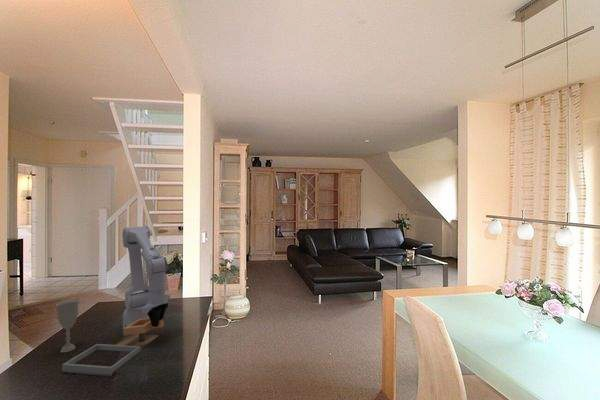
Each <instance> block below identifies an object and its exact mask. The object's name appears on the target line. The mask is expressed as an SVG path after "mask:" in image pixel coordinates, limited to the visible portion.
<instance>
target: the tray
mask: <svg viewBox="0 0 600 400" xmlns="http://www.w3.org/2000/svg"><path fill="white" fill-rule="evenodd" d="M98 350H99V351H114V352H129V353H128V354H126V355H125V356H124V357H123V358H121V359H119V360H118V361H117V362H116V363H114V364H112V366H106V365H92V364H81V363H80V364H77V363H78V362H79V361H81V360H82V359H84V358H86V357H88V356H89V355H91V354H93V353H94V352H96V351H98ZM141 350H142V348H141V347H140V346H124V345H116V344H108V343H106V344H105V343H104V344H103V343H96V344H94V345H93V346H91V347H89V348H87V349H85V351H82V352H81V353H80V354H77V355H75V356H74V357H72V358H70V359H69V360H68V361H65V362H64V363H62V364H61V373H62V372H67V373H66V374H72V373H76V374H75V375H85V376H97V377H110V378H111V377H113V376H114V375H116V373H117V372H116V371H117V370H118V369H119V368H121V367H122V366H123V365H125V364H126V363H127V362H129V361H130V360H131V359H133V358H134V357H135V356H137V355H138V354H139V353H140V352H142V351H141Z"/></svg>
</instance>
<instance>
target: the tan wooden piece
mask: <svg viewBox="0 0 600 400" xmlns="http://www.w3.org/2000/svg"><path fill="white" fill-rule="evenodd" d="M143 325H144V324H143ZM159 336H160V335H159V334H147V333H141V334H132V335H127V336H126V337H125V338H123V339H121V340H120V341H119V342H117V343H116V344H115V345H124V346H140V347H141V349H143V348H145V347H147V345H149V344H150V343H151V342H152V341H154V340H156V338H158V337H159Z"/></svg>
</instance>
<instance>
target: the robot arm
mask: <svg viewBox="0 0 600 400" xmlns="http://www.w3.org/2000/svg"><path fill="white" fill-rule="evenodd" d="M151 234H152V233H151V229H150V227H149V226H148V225H145V226H135V227H124V228H123V229H122V245H123V247H124V248H127V249H128V250H127V251H128V256H129V257H128V259H129V268H130V269H129V270H130V279H131V286H130V287H129V288H128V289H127V290H126V291H125V293H124V294H125V295H124V305H125V309H124V312H123V313H122V329H123V328H125V327H126V326H128V325H130V324H131V323H133V322H135V321H136V320H138V319H143V318H150V321H151V324H152V327H157V326H158V324H159V319H163V320H164V318H165V314H166V311H167V309H168V307H169V303H168V302H169V301H170V300H171V294H166V272H167V271H168V261H167V258H166V257H165V256H162V255H160V252H159V251H158V249H157V247H156V246H155V245H154V246H153V245H152V243H151V240H150V238H151ZM143 261H144V262H145V271H146V278H147V280H148V281H147V282H148V284H146V283H145V277H144V268H143V267H144V266H143Z"/></svg>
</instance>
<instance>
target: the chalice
mask: <svg viewBox="0 0 600 400" xmlns="http://www.w3.org/2000/svg"><path fill="white" fill-rule="evenodd" d="M79 303H80V299H67V300H63V301H60V302H57V303H56V304H55V307H56V313H57V314H56V315H57V321H58V323H59V324H60V326H61V327H62V329H65V330H66V332H65V333H64V334H65V335H66V337H65V338H64V340H65V341H66V343H65V344H64V345H63V346H62V348H61V350H60V352H59V353H68V352H71V351H73V350H75V349H76V346H75V344H74V343H71V342H70V341H71V339H72V337H71V336H70V335H71V331H70V329H71V328H73V327H74V324H75V322H76V321H77V318H78V317H79V316H78V315H79Z"/></svg>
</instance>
